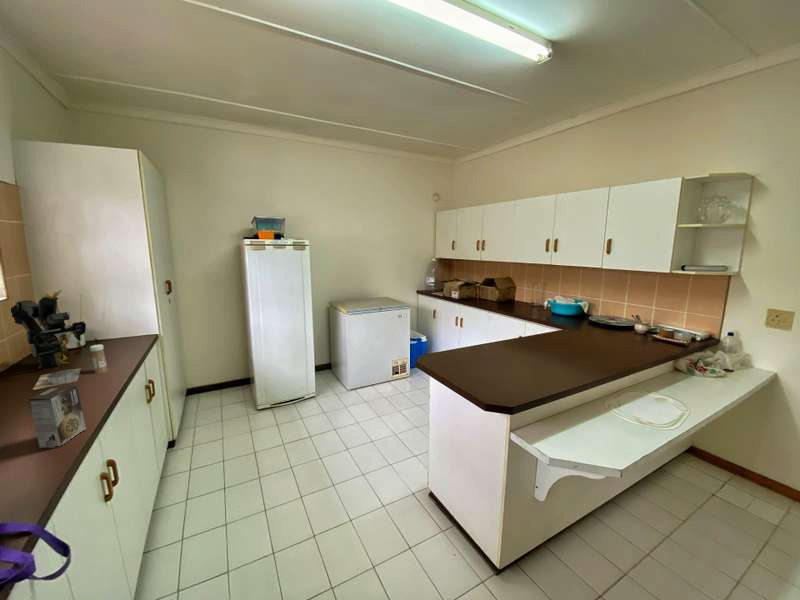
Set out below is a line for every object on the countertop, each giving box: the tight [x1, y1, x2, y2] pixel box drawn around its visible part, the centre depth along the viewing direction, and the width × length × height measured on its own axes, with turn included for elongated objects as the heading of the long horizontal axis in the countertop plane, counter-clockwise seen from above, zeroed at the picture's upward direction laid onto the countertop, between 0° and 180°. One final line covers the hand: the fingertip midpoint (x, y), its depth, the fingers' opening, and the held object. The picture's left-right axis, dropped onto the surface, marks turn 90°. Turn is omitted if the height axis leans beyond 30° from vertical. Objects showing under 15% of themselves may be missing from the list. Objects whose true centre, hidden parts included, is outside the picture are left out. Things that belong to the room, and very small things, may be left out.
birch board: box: [32, 368, 82, 390], centre depth 144 cm, size 18×13×1 cm
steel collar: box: [47, 368, 79, 385], centre depth 142 cm, size 9×9×3 cm
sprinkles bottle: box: [89, 344, 108, 374], centre depth 150 cm, size 5×5×14 cm
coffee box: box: [28, 384, 87, 449], centre depth 101 cm, size 9×6×16 cm
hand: (66, 343), depth 145 cm, fingers open, 9 cm apart
